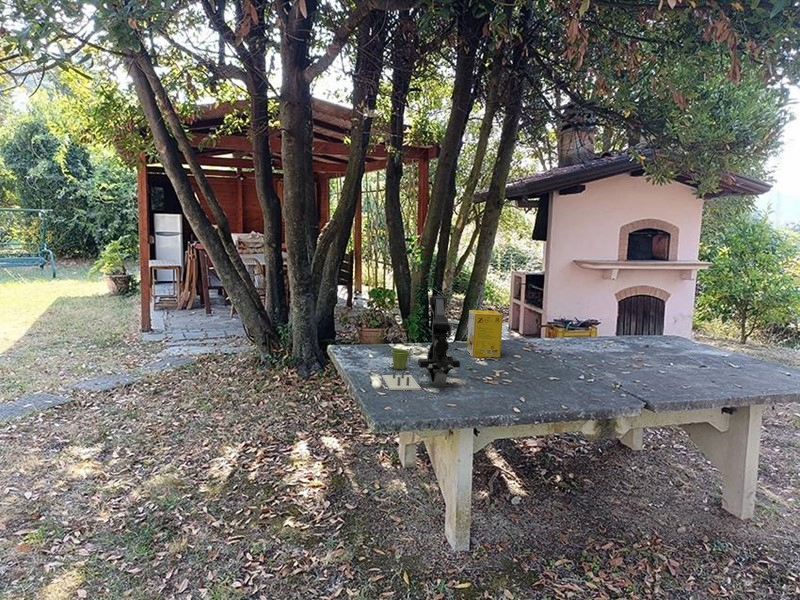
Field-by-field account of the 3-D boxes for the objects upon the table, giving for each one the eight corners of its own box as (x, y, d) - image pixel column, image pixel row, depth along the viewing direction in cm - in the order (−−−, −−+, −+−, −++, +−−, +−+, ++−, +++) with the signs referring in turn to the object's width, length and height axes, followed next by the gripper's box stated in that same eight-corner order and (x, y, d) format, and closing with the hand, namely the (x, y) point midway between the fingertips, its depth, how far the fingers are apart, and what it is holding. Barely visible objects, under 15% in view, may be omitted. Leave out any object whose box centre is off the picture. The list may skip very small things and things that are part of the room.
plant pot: (386, 367, 271) (387, 350, 270) (401, 365, 277) (402, 348, 275) (397, 371, 263) (398, 354, 262) (412, 369, 269) (413, 352, 268)
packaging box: (466, 351, 319) (469, 309, 316) (493, 351, 320) (496, 310, 317) (471, 357, 303) (474, 313, 300) (500, 358, 304) (502, 315, 301)
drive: (430, 381, 247) (430, 368, 246) (440, 381, 248) (441, 368, 247) (435, 387, 238) (435, 373, 238) (445, 387, 239) (446, 373, 239)
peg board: (381, 377, 251) (382, 367, 251) (410, 376, 254) (410, 367, 253) (389, 390, 230) (390, 380, 229) (421, 390, 232) (421, 380, 232)
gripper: (424, 352, 231) (422, 386, 233) (464, 352, 235) (462, 386, 237) (418, 346, 242) (416, 379, 244) (457, 346, 246) (455, 379, 248)
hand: (437, 381), depth 243 cm, fingers closed on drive, 5 cm apart
